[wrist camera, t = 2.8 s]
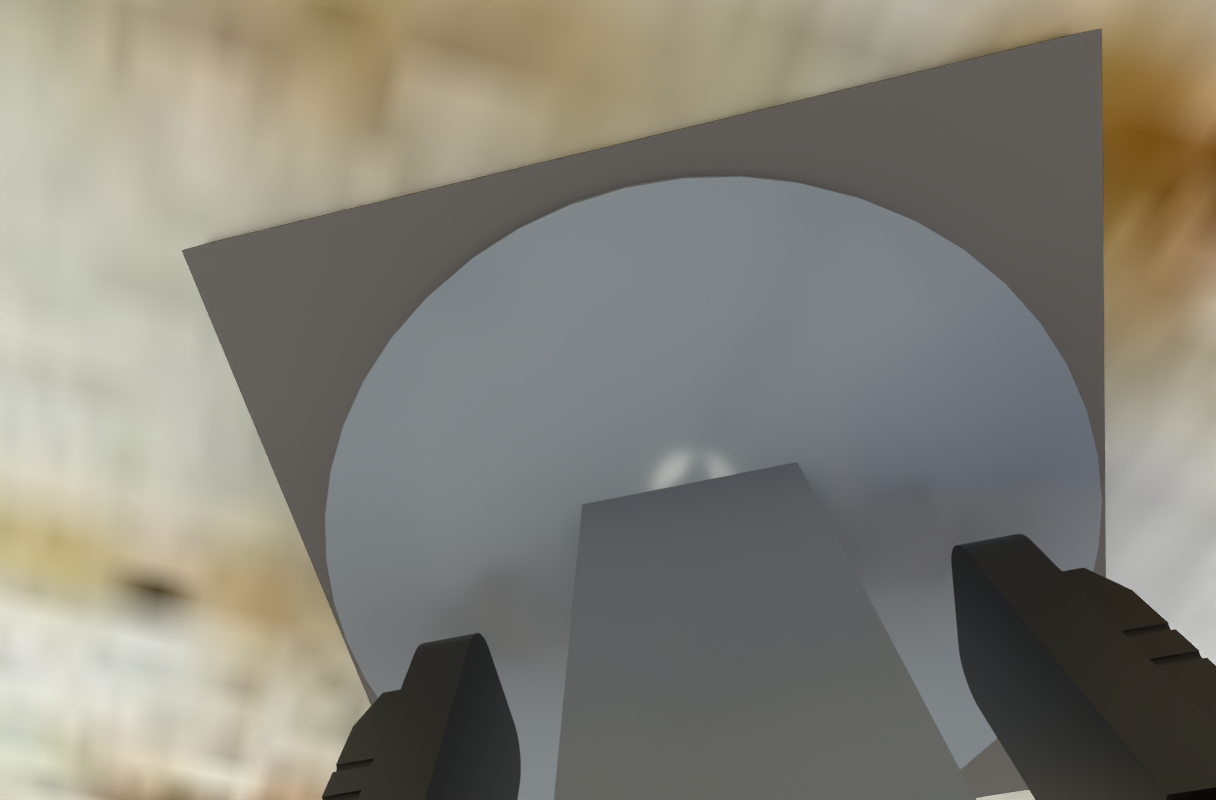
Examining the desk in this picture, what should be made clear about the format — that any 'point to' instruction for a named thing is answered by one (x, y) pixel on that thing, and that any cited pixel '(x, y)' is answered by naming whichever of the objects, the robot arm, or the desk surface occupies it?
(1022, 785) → the mat
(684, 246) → the lid
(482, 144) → the desk surface
